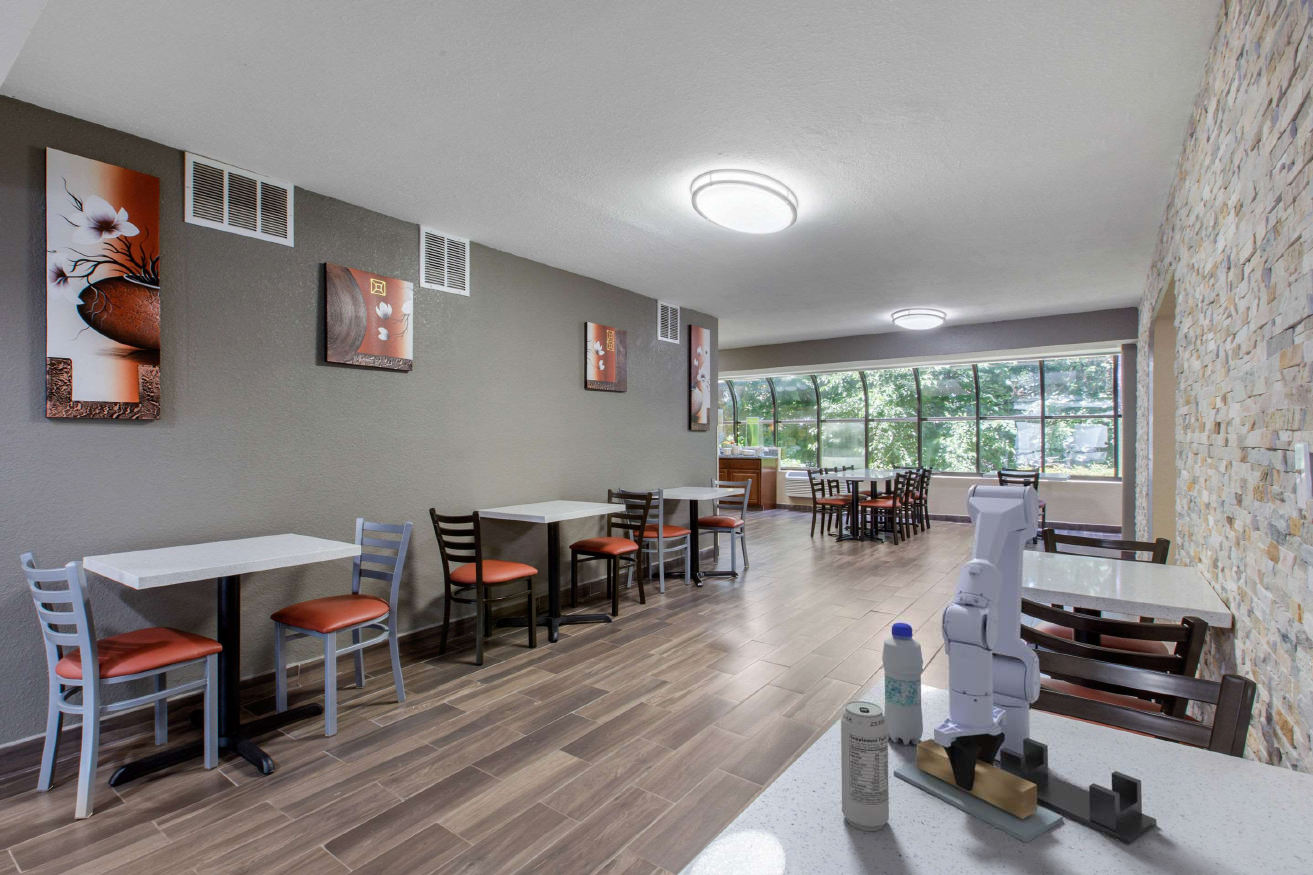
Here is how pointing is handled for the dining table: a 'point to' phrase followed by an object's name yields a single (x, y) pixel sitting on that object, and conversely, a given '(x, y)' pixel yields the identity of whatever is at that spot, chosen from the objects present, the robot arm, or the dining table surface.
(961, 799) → the mat
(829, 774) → the dining table surface
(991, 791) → the oak rail
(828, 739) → the dining table surface
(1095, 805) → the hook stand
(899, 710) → the bottle
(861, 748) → the energy drink can
